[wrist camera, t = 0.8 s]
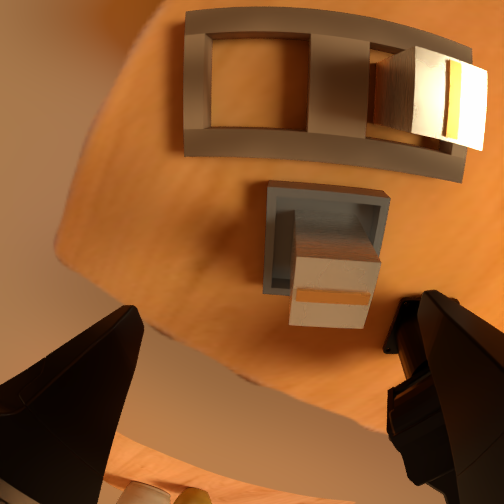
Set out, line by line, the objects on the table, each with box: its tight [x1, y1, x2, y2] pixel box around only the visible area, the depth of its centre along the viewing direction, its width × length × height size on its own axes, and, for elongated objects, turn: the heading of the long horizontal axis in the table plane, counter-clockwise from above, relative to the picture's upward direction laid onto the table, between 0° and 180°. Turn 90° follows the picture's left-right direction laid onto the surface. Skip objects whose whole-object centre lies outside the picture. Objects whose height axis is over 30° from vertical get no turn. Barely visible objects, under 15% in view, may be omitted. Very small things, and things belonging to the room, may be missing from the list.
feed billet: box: [289, 210, 381, 329], centre depth 19 cm, size 4×4×7 cm
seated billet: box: [373, 46, 487, 151], centre depth 14 cm, size 4×4×7 cm
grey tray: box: [263, 180, 390, 296], centre depth 21 cm, size 8×8×2 cm
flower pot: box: [174, 488, 212, 504], centre depth 52 cm, size 10×10×7 cm
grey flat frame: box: [183, 7, 472, 183], centre depth 16 cm, size 10×19×2 cm, turn 89°
